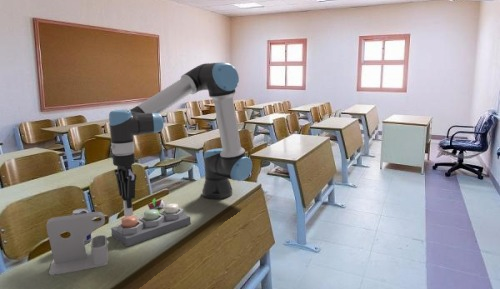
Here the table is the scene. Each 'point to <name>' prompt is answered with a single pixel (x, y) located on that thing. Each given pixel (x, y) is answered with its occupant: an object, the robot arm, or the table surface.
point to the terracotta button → (129, 222)
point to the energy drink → (81, 211)
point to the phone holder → (76, 243)
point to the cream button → (171, 208)
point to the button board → (150, 227)
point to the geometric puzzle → (157, 205)
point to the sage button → (151, 215)
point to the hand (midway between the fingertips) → (128, 215)
